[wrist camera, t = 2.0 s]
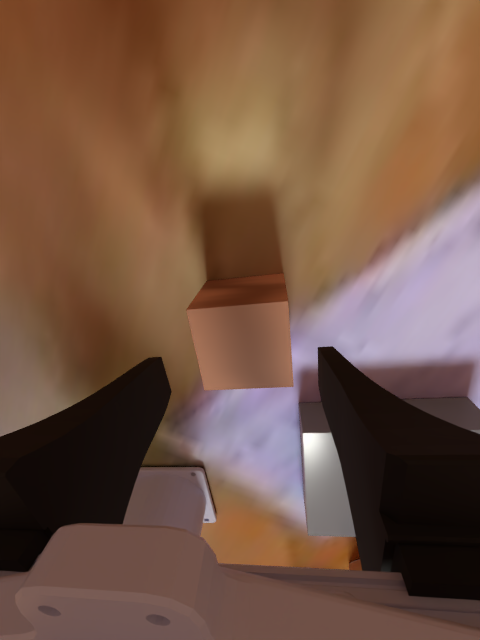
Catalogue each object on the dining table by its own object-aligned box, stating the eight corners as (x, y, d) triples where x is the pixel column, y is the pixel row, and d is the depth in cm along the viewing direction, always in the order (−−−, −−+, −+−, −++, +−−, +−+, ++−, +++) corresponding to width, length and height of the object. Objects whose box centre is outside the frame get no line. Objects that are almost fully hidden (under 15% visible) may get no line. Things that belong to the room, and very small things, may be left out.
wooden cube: (219, 345, 20) (204, 390, 16) (207, 280, 18) (186, 309, 14) (288, 341, 19) (293, 386, 15) (283, 272, 17) (288, 301, 13)
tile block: (303, 500, 26) (307, 535, 24) (298, 403, 22) (302, 433, 19) (439, 502, 25) (460, 540, 22) (467, 397, 20) (498, 429, 17)
